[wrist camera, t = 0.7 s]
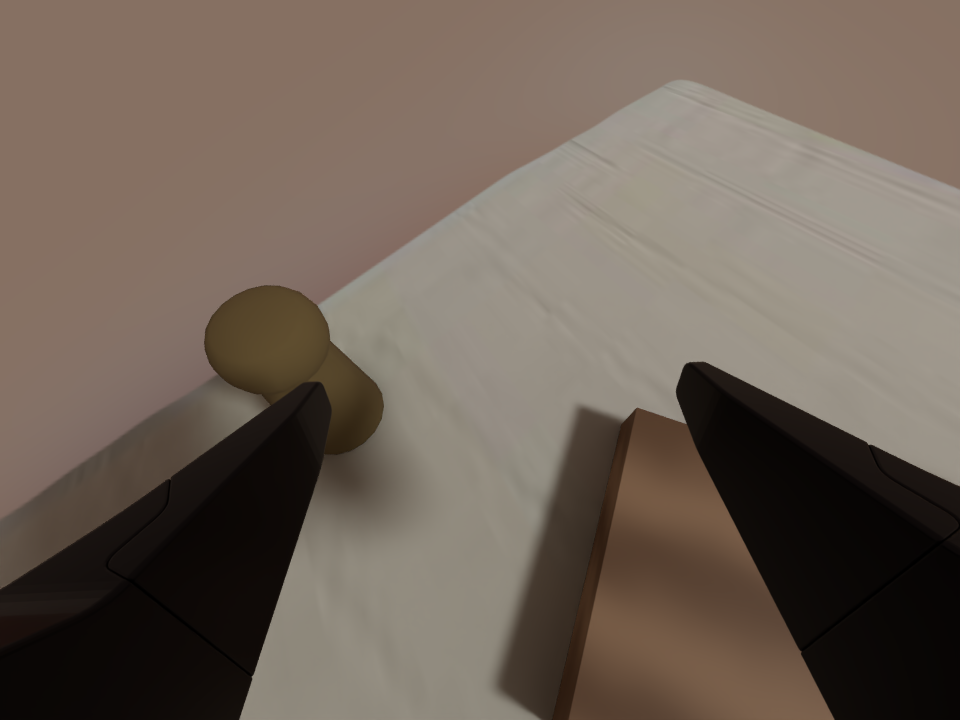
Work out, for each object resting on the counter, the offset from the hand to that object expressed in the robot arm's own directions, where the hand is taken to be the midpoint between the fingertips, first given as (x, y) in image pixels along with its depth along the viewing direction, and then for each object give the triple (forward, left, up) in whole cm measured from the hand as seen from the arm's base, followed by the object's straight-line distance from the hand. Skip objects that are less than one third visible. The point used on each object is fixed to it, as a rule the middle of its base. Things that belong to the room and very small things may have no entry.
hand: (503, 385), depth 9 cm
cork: (+1, +12, -16) cm, 20 cm away
